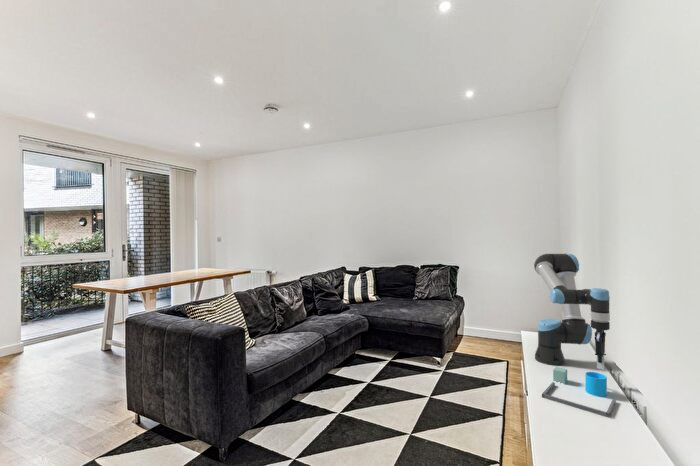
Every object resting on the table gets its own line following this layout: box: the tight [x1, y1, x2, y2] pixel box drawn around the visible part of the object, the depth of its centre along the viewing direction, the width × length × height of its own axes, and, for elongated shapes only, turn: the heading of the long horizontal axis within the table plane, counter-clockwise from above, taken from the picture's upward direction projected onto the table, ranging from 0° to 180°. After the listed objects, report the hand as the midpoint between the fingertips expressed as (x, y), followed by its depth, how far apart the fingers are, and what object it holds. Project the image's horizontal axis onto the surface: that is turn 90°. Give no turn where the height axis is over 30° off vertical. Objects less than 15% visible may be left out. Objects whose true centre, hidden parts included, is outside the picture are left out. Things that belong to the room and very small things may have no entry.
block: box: [552, 366, 568, 385], centre depth 176 cm, size 5×5×6 cm
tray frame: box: [541, 381, 617, 418], centre depth 157 cm, size 17×25×2 cm
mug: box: [584, 371, 608, 398], centre depth 165 cm, size 12×8×8 cm
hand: (600, 368), depth 172 cm, fingers closed
